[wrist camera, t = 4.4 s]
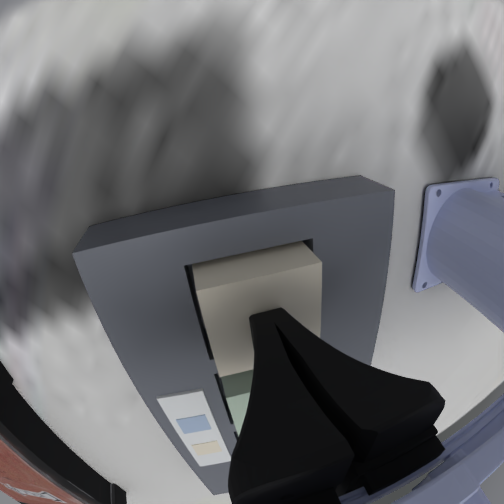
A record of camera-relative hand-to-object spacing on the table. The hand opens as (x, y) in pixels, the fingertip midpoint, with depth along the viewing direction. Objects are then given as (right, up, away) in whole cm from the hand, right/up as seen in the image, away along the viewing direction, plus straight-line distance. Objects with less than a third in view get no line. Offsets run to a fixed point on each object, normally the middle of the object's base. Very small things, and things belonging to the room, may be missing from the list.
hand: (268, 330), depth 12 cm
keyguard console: (0, -7, +9) cm, 11 cm away
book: (-26, -16, +7) cm, 32 cm away
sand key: (-1, +1, +2) cm, 2 cm away
